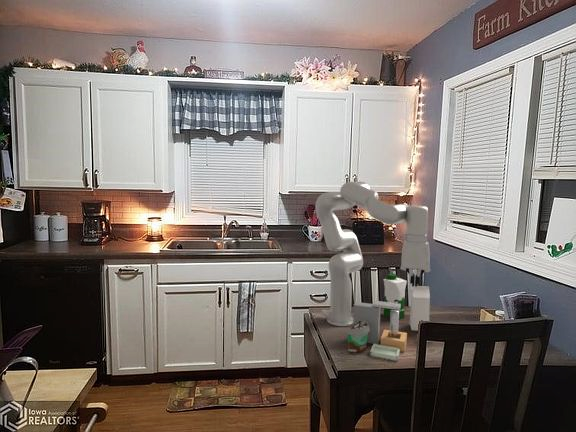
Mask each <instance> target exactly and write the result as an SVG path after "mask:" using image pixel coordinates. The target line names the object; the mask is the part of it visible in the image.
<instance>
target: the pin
mask: <svg viewBox="0 0 576 432" xmlns="http://www.w3.org/2000/svg"><path fill="white" fill-rule="evenodd" d="M389 319H390V321H389V323H390V324H389V330H390V337H391V338H397V339H398V332H399V329H400V328H399V324H400V323H399V322H400V319H399V311H398V310H391V317H390V318H389Z"/></svg>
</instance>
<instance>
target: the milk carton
mask: <svg viewBox="0 0 576 432" xmlns="http://www.w3.org/2000/svg"><path fill="white" fill-rule="evenodd" d="M430 294H431V293H430V286H424V285H420V286H419V285H417V287H415V285H414V286H412V285H411V291H410V304H409V305H410V308H409V326H410V329H411V331H415V332H416V331H418V324H419V321H421V320H423V321H429V322H430V310H431V309H430V306H431V295H430Z"/></svg>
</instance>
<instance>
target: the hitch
mask: <svg viewBox="0 0 576 432" xmlns="http://www.w3.org/2000/svg"><path fill="white" fill-rule="evenodd" d="M352 317H353V324H352V326H353V325H354V324H356V323H358V322H359V319H361V320H364V321H366V322H367V323H368V325H369V329H370V330H369V332H368V334H367V344H377V345H379V342H380V345H383V346H389V347H395V348H400V352H402V353H404V352H405V351H406V347H407V342H408V340H407V339H408V333H407V332H404V331H398V339H397V338H391V337H390V329H383V331H382V335H381V336H380V332H381V331H380V328H381V327H380V326H381V307H374V303H367V302H362V301H361V302H359V301H355V302H354V304H353V316H352Z"/></svg>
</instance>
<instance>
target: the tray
mask: <svg viewBox="0 0 576 432" xmlns="http://www.w3.org/2000/svg"><path fill="white" fill-rule="evenodd" d="M400 353H401V351H400V348H395V347H389V346H383V345H381V344H378V345H377V344H373V345H372V346H371V349H370V351H369V357H374V358H378V357H379V358H378V359H384V358H385V359H384V360H389V359H390V360H391V361H396V362H398V361H399V357H400ZM390 360H389V361H390Z"/></svg>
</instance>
